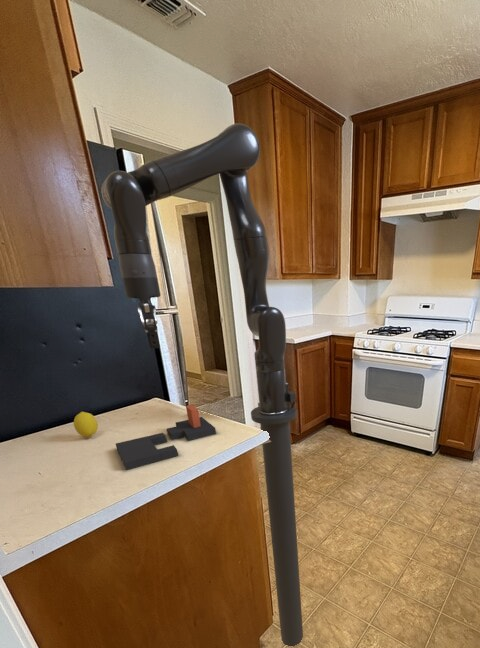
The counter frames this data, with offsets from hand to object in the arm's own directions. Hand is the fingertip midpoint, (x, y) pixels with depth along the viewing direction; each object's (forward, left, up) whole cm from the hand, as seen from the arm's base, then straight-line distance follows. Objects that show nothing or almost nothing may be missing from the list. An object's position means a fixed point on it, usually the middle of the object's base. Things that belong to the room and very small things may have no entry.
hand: (154, 345), depth 90 cm
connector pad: (-5, -2, -26) cm, 27 cm away
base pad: (+8, +5, -26) cm, 28 cm away
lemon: (+19, -17, -26) cm, 37 cm away
